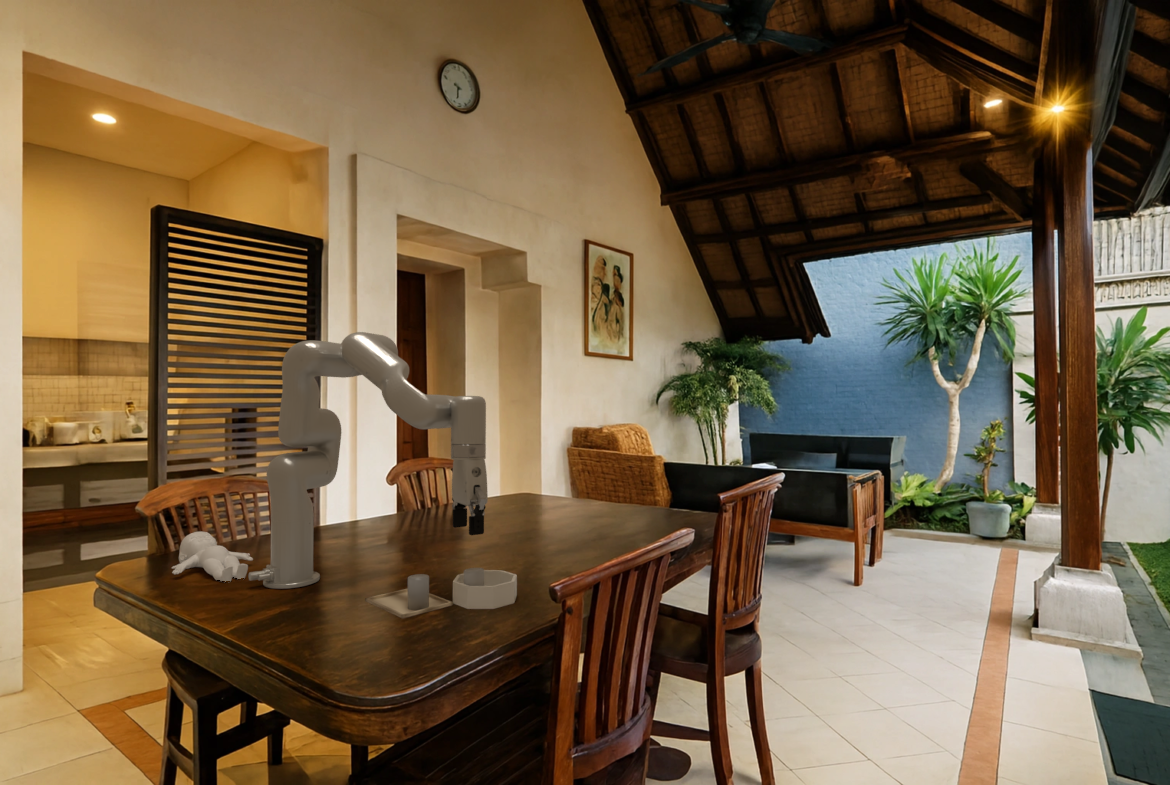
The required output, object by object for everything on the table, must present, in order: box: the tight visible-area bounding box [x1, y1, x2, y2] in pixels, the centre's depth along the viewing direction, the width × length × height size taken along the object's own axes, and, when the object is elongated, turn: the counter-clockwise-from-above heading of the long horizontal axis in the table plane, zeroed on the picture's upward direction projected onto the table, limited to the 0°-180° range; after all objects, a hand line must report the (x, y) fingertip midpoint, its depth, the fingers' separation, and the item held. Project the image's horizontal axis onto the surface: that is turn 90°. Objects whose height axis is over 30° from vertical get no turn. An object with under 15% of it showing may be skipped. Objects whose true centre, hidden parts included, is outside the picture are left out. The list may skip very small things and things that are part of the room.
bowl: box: [452, 569, 518, 610], centre depth 142 cm, size 13×13×5 cm
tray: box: [364, 588, 454, 619], centre depth 139 cm, size 12×16×1 cm
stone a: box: [463, 567, 485, 586], centre depth 140 cm, size 4×4×6 cm
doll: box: [171, 531, 254, 583], centre depth 167 cm, size 19×9×30 cm
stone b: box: [407, 573, 430, 610], centre depth 137 cm, size 4×4×6 cm
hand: (467, 530), depth 140 cm, fingers open, 9 cm apart
